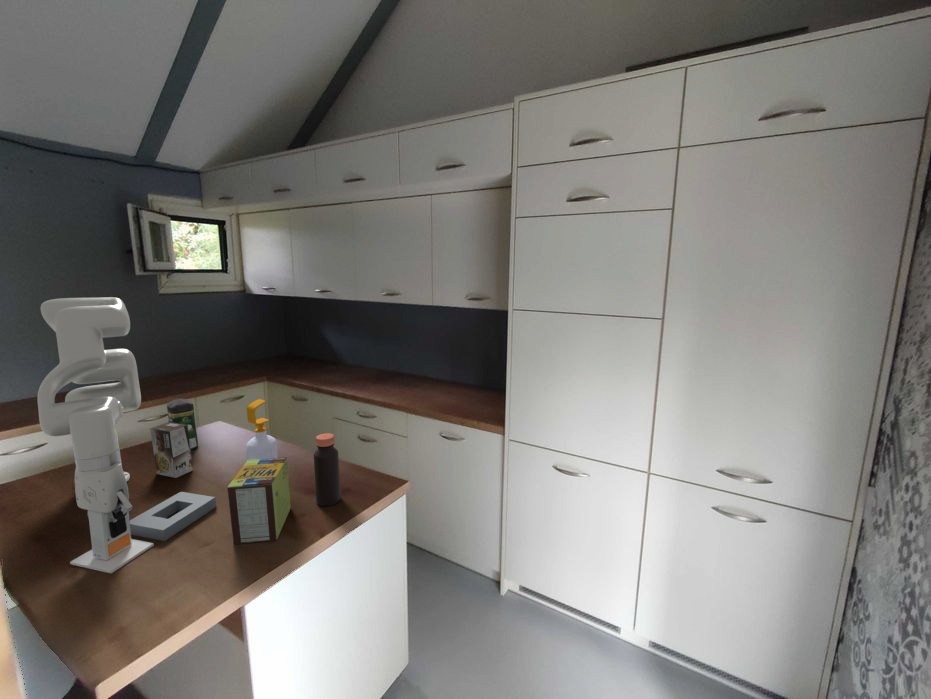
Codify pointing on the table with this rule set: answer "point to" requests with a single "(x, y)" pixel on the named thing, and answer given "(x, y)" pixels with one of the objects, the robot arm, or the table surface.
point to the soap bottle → (260, 436)
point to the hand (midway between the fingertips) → (109, 531)
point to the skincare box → (107, 535)
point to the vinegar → (326, 471)
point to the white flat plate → (115, 561)
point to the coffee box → (171, 449)
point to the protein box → (259, 500)
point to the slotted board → (162, 528)
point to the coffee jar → (183, 417)
